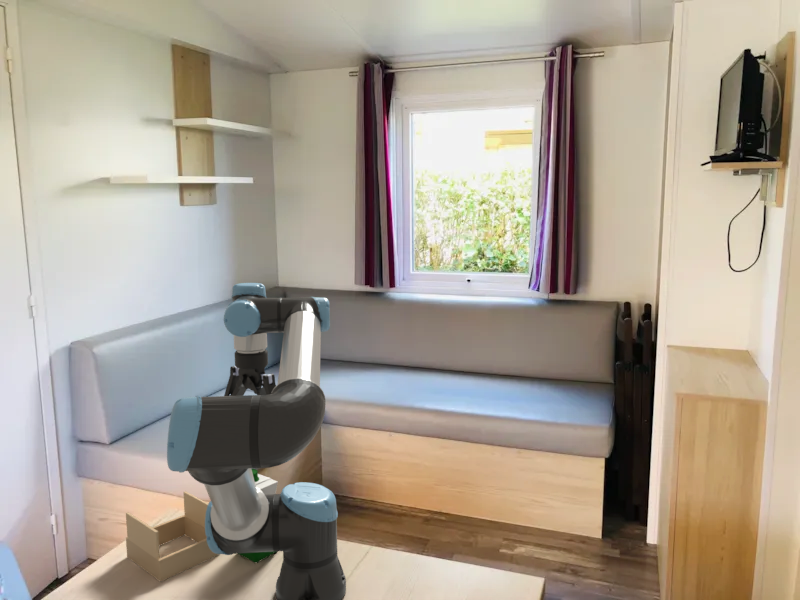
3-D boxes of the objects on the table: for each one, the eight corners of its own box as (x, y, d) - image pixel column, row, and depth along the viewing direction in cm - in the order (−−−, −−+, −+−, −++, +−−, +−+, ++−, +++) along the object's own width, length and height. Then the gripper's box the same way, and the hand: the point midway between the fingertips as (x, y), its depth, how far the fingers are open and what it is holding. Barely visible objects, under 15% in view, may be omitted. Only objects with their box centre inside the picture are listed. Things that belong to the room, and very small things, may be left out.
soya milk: (259, 539, 164) (257, 463, 161) (284, 551, 158) (281, 472, 155) (231, 554, 157) (227, 475, 154) (255, 566, 151) (252, 485, 148)
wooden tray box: (220, 553, 157) (218, 509, 155) (160, 581, 145) (157, 533, 143) (186, 532, 167) (183, 490, 165) (127, 557, 155) (124, 511, 154)
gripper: (298, 355, 145) (301, 445, 148) (233, 339, 161) (236, 422, 164) (271, 361, 139) (274, 455, 142) (206, 344, 155) (210, 429, 159)
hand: (254, 437), depth 153 cm, fingers open, 13 cm apart
